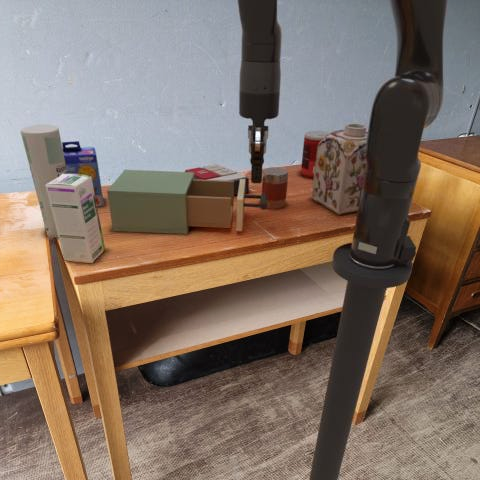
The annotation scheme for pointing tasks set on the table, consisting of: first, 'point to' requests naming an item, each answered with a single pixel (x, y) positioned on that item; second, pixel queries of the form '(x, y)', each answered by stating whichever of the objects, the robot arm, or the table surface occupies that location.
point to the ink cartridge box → (83, 165)
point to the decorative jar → (341, 169)
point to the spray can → (44, 165)
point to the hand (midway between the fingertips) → (256, 182)
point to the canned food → (311, 152)
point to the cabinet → (150, 201)
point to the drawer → (218, 203)
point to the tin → (275, 186)
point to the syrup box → (76, 217)
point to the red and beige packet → (220, 175)
